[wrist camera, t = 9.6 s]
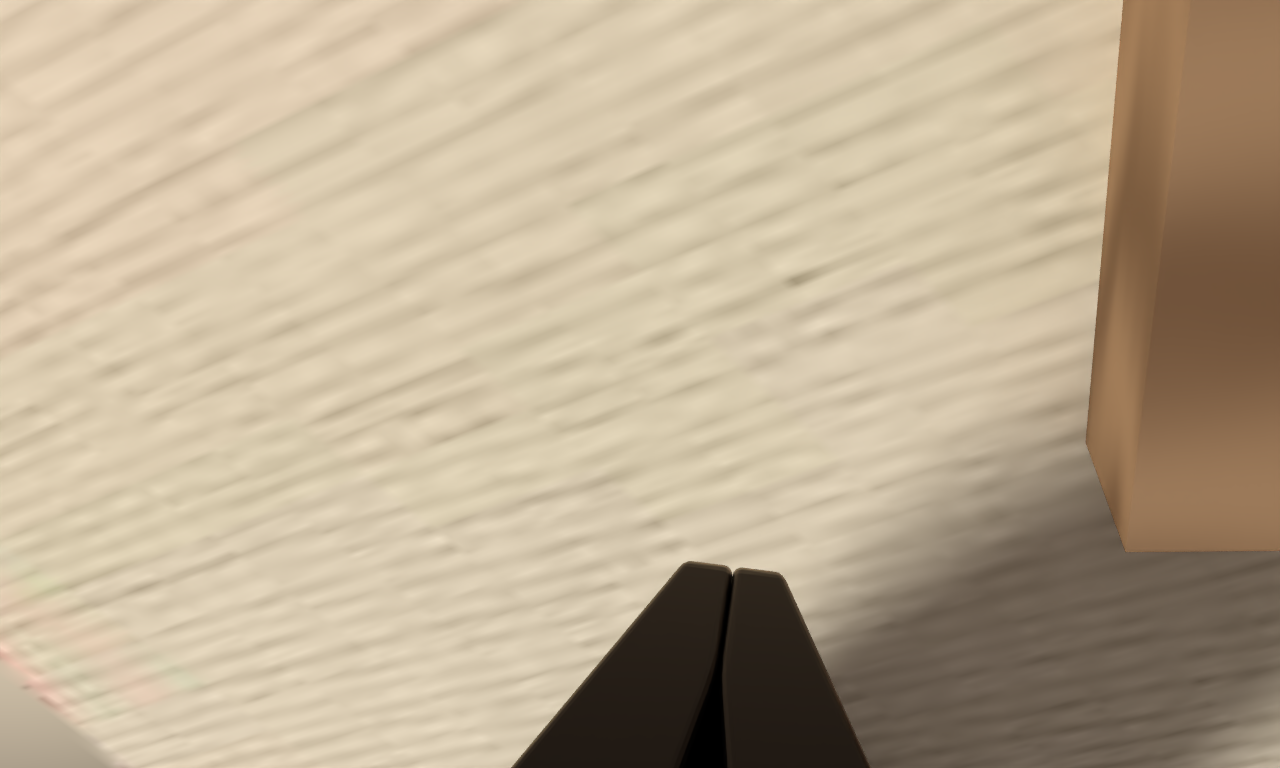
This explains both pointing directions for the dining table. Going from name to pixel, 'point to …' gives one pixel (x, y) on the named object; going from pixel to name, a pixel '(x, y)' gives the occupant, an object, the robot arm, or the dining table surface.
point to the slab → (1191, 281)
